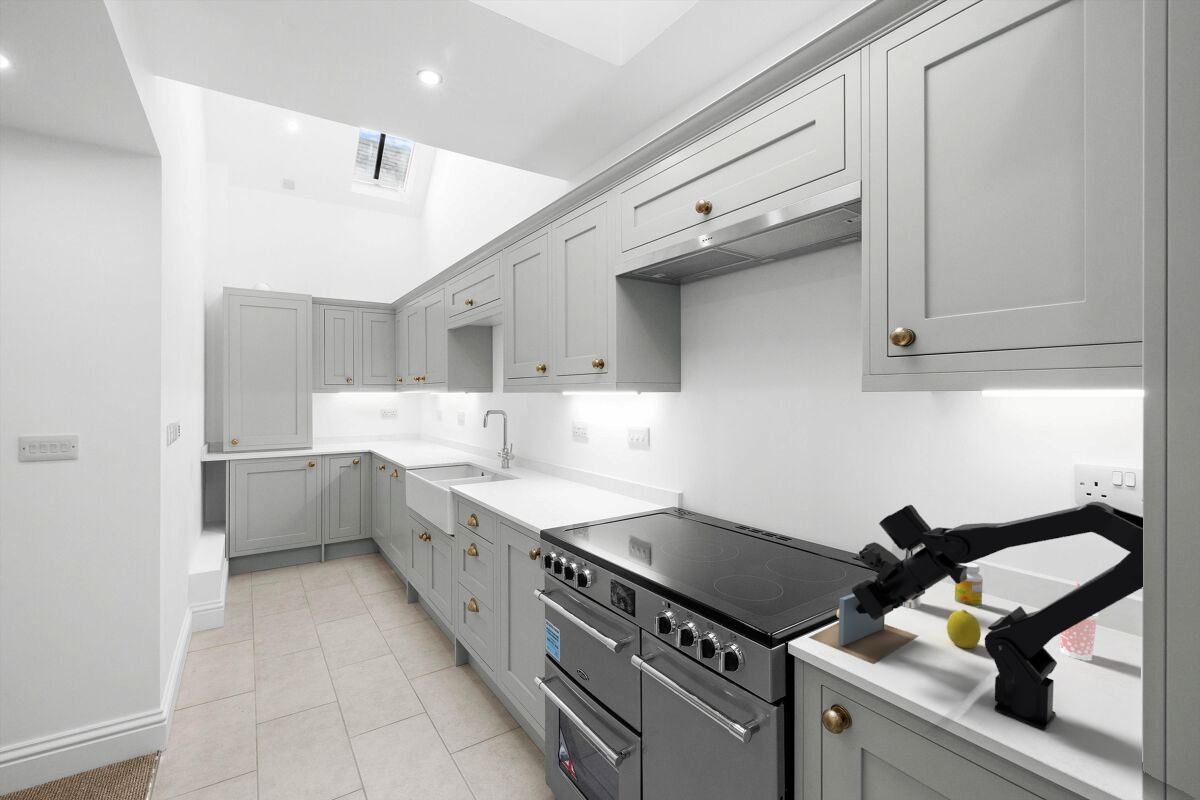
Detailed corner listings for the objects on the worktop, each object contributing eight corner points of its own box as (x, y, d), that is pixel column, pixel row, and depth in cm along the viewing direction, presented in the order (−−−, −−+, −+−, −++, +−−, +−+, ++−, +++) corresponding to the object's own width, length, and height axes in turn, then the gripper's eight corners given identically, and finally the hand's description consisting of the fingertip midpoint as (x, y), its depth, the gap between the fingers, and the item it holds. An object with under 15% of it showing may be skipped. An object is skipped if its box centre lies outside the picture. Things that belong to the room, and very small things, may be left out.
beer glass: (885, 600, 132) (886, 539, 131) (915, 602, 131) (917, 540, 130) (896, 612, 125) (898, 547, 124) (929, 614, 124) (931, 549, 123)
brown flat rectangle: (918, 640, 111) (918, 635, 111) (873, 669, 99) (873, 663, 99) (855, 618, 121) (855, 613, 121) (808, 642, 110) (808, 637, 109)
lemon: (985, 658, 104) (986, 617, 104) (953, 655, 105) (954, 614, 105) (971, 644, 109) (973, 605, 109) (941, 641, 110) (942, 603, 110)
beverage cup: (1057, 643, 110) (1059, 575, 110) (1098, 654, 106) (1100, 583, 105) (1053, 654, 106) (1056, 583, 105) (1096, 666, 101) (1099, 592, 101)
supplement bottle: (949, 600, 132) (950, 560, 132) (969, 599, 133) (970, 560, 133) (966, 609, 127) (967, 568, 127) (987, 608, 128) (988, 567, 127)
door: (885, 627, 114) (886, 585, 113) (843, 645, 105) (844, 600, 105) (875, 623, 115) (876, 582, 115) (832, 641, 107) (833, 596, 107)
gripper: (910, 526, 108) (854, 565, 118) (864, 541, 97) (806, 583, 106) (953, 576, 102) (890, 613, 112) (909, 599, 91) (844, 638, 100)
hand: (858, 610), depth 107 cm, fingers closed, pressing on door
